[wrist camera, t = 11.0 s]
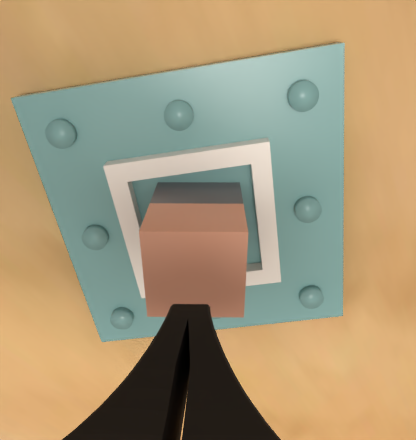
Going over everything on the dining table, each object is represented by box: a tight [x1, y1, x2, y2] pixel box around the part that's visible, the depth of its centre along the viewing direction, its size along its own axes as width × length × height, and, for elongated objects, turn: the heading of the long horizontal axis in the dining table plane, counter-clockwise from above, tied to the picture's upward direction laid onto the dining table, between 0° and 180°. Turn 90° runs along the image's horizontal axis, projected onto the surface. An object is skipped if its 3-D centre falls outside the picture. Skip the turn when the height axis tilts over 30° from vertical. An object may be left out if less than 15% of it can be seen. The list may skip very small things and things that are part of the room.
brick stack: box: [139, 182, 248, 317], centre depth 19 cm, size 4×4×6 cm
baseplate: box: [11, 42, 344, 342], centre depth 21 cm, size 16×16×2 cm
